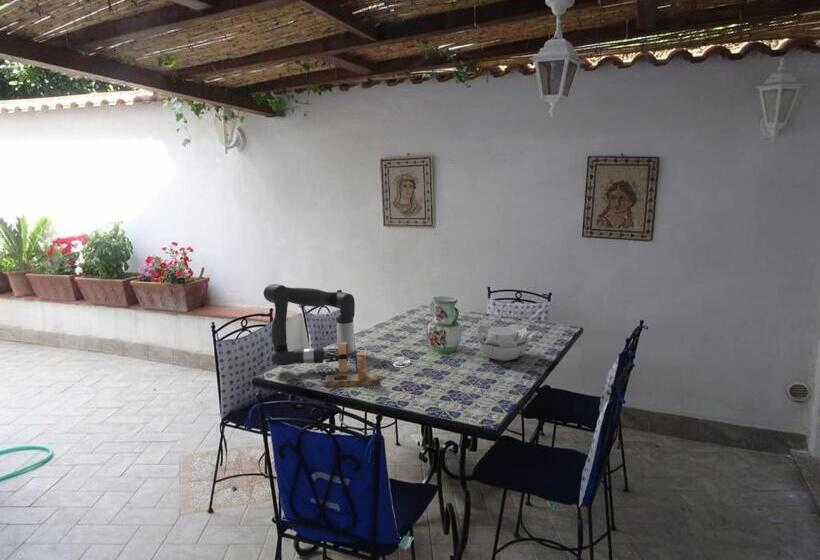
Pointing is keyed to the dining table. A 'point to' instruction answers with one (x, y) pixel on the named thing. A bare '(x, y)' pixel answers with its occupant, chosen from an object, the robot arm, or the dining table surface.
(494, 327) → the decorative bowl
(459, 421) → the dining table surface
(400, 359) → the teacup and saucer
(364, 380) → the rail
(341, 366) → the tall tan pillar block
